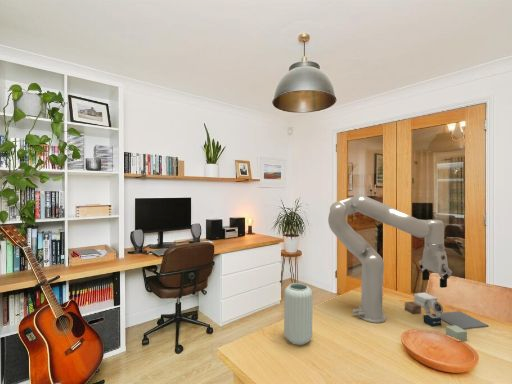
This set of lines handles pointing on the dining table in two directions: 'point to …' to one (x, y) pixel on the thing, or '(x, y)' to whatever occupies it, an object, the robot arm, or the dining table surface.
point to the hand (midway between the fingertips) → (434, 283)
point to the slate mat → (461, 320)
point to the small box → (423, 299)
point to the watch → (432, 318)
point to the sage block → (456, 332)
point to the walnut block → (413, 307)
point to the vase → (298, 313)
